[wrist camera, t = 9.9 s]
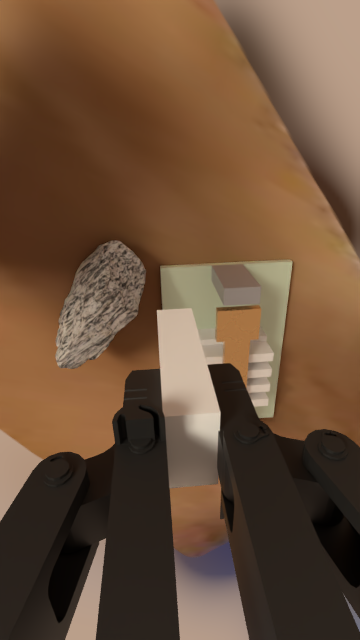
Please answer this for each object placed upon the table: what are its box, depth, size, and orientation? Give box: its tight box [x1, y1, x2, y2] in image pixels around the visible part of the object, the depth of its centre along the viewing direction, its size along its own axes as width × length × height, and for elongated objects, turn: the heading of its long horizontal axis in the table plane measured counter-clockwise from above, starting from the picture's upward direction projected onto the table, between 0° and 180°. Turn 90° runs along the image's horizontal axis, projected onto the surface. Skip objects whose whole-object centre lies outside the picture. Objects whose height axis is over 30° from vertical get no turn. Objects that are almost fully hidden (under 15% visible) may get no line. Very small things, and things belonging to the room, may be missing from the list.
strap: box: [215, 305, 261, 387], centre depth 44 cm, size 21×5×1 cm, turn 1°
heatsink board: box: [160, 259, 293, 418], centre depth 46 cm, size 17×26×9 cm, turn 1°
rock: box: [56, 240, 146, 369], centre depth 41 cm, size 16×8×10 cm, turn 131°
